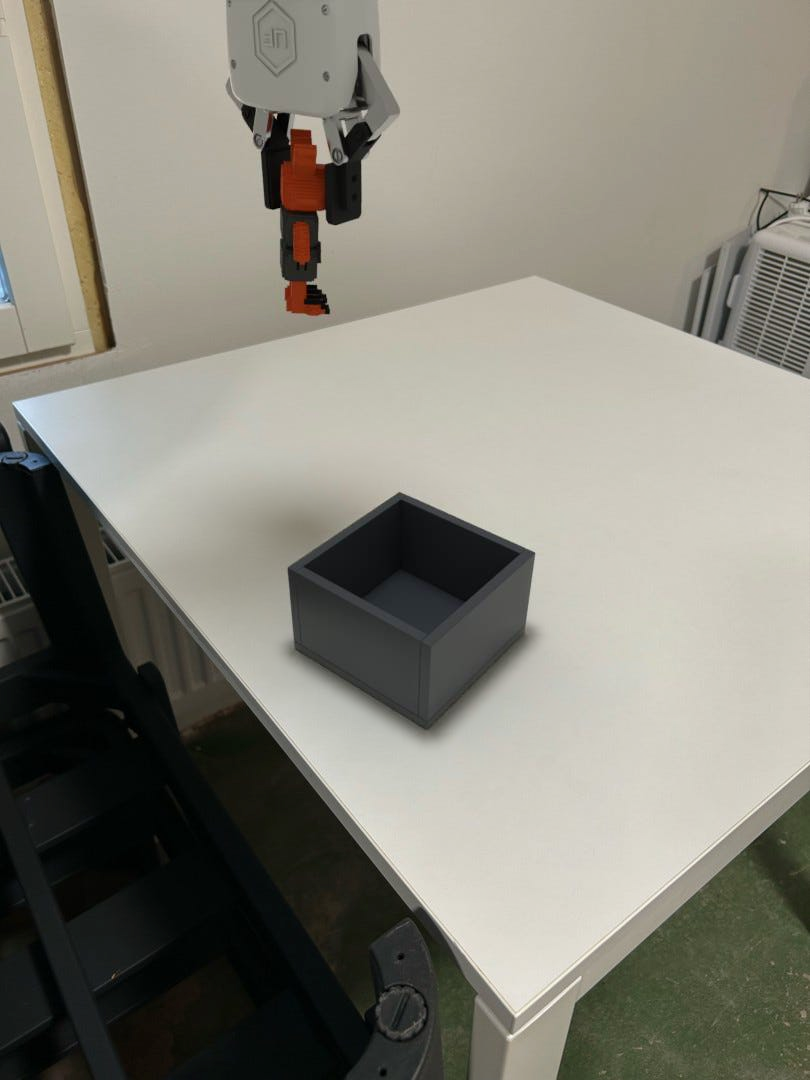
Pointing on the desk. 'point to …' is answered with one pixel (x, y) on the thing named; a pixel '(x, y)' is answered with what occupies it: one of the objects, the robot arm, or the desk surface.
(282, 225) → the toy animal
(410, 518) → the bin
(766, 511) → the desk surface
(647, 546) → the desk surface
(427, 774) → the desk surface
